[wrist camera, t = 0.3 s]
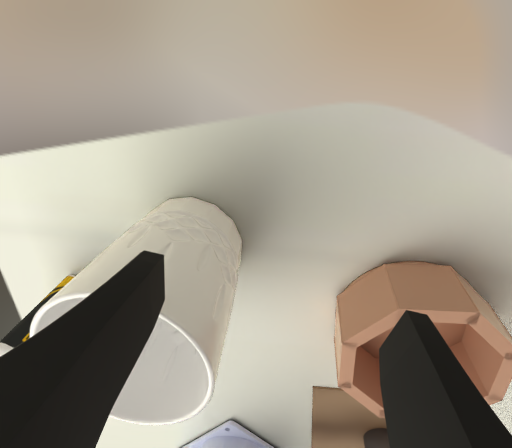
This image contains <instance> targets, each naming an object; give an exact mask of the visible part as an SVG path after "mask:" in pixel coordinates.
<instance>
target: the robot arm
mask: <svg viewBox="0 0 512 448" xmlns="http://www.w3.org/2000/svg"><path fill="white" fill-rule="evenodd" d="M164 301H165V273H164V255H163V254H158V253H154V252H149V251H145V250H144V251H142V252H140V253H139V254H138V255H137V256H136V257H135V258H134V259H132V260H131V261H130V262H129V263H128V264H127V265H125V266H124V267H123V268H122V269H121V270H120V271H118V272H117V273H116V274H115V275H114V276H112V277H111V278H110V279H109V280H108V281H106V282H105V283H104V284H103V285H101V286H100V287H99V288H98V289H96V290H95V291H94V292H92V293H91V294H90V295H89V296H87V297H86V298H85V299H84V300H82V301H81V302H80V303H78V304H77V305H76V306H74V307H73V308H72V309H70V310H69V311H67V312H66V313H65V314H63V315H62V316H61V317H59V318H58V319H56V320H55V321H54V322H52V323H51V324H49V325H48V326H47V327H45V328H44V329H42V330H41V331H39V332H38V333H36V334H35V335H33V336H32V337H30V338H29V339H27V340H26V341H24V342H23V343H21V344H20V345H18V346H16V347H15V348H13V349H12V350H10V351H8V352H7V353H5V354H4V355H2V356H0V448H95V447H96V444H97V442H98V440H99V437H100V435H101V433H102V430H103V428H104V426H105V423H106V421H107V418H108V416H109V414H110V412H111V410H112V408H113V406H114V404H115V402H116V400H117V398H118V396H119V394H120V392H121V390H122V388H123V387H124V385H125V383H126V381H127V379H128V377H129V375H130V373H131V371H132V370H133V368H134V366H135V364H136V362H137V360H138V358H139V356H140V354H141V353H142V351H143V349H144V347H145V345H146V343H147V341H148V339H149V337H150V335H151V333H152V331H153V329H154V327H155V324H156V322H157V319H158V317H159V314H160V311H161V309H162V306H163V303H164ZM379 371H380V387H381V394H382V401H383V407H384V414H385V420H386V427H387V433H388V439H389V446H390V448H512V435H511V434H510V433H509V431H508V430H507V429H506V427H505V426H504V425H503V423H502V422H501V421H500V419H499V418H498V417H497V415H496V414H495V413H494V411H493V410H492V409H491V407H490V406H489V404H488V403H487V402H486V400H485V399H484V398H483V396H482V395H481V393H480V392H479V390H478V389H477V388H476V386H475V385H474V383H473V382H472V380H471V379H470V378H469V376H468V375H467V373H466V372H465V370H464V369H463V367H462V366H461V364H460V363H459V361H458V360H457V358H456V357H455V355H454V354H453V352H452V351H451V349H450V348H449V346H448V345H447V343H446V342H445V340H444V339H443V337H442V336H441V334H440V333H439V331H438V330H437V328H436V327H435V325H434V324H433V322H432V321H431V319H430V318H429V316H428V315H427V314H422V313H418V312H413V311H409V310H406V311H405V312H404V314H403V315H402V316H401V318H400V319H399V321H398V322H397V324H396V325H395V327H394V328H393V329H392V331H391V332H390V334H389V335H388V337H387V338H386V340H385V341H384V342H383V344H382V345H381V347H380V348H379ZM182 448H274V447H272V446H271V445H269V444H268V443H266V442H265V441H263V440H262V439H260V438H259V437H257V436H256V435H254V434H253V433H251V432H250V431H248V430H247V429H245V428H243V427H242V426H240V425H239V424H237V423H236V422H234V421H227V422H226V423H224V424H222V425H220V426H219V427H217V428H215V429H213V430H212V431H210V432H208V433H207V434H205V435H203V436H201V437H200V438H198V439H196V440H194V441H193V442H191V443H189V444H187V445H186V446H184V447H182Z"/></svg>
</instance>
